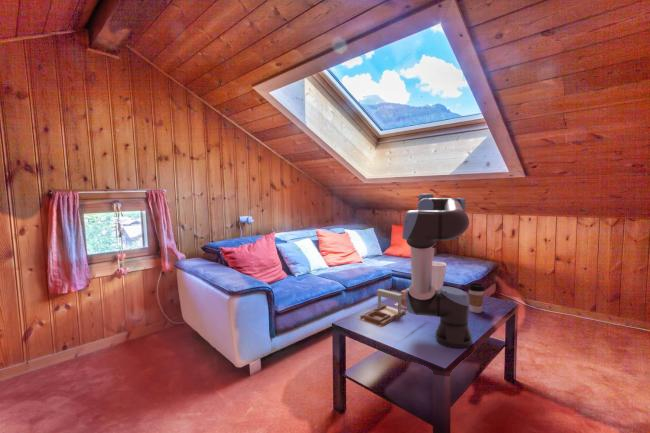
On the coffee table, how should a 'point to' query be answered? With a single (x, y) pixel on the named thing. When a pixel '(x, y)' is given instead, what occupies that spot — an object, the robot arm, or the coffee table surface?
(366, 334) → the coffee table surface
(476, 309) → the coffee cup
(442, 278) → the cup
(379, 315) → the puzzle board
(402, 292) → the block
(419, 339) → the coffee table surface
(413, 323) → the coffee table surface
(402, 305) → the mat
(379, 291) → the cover bar
